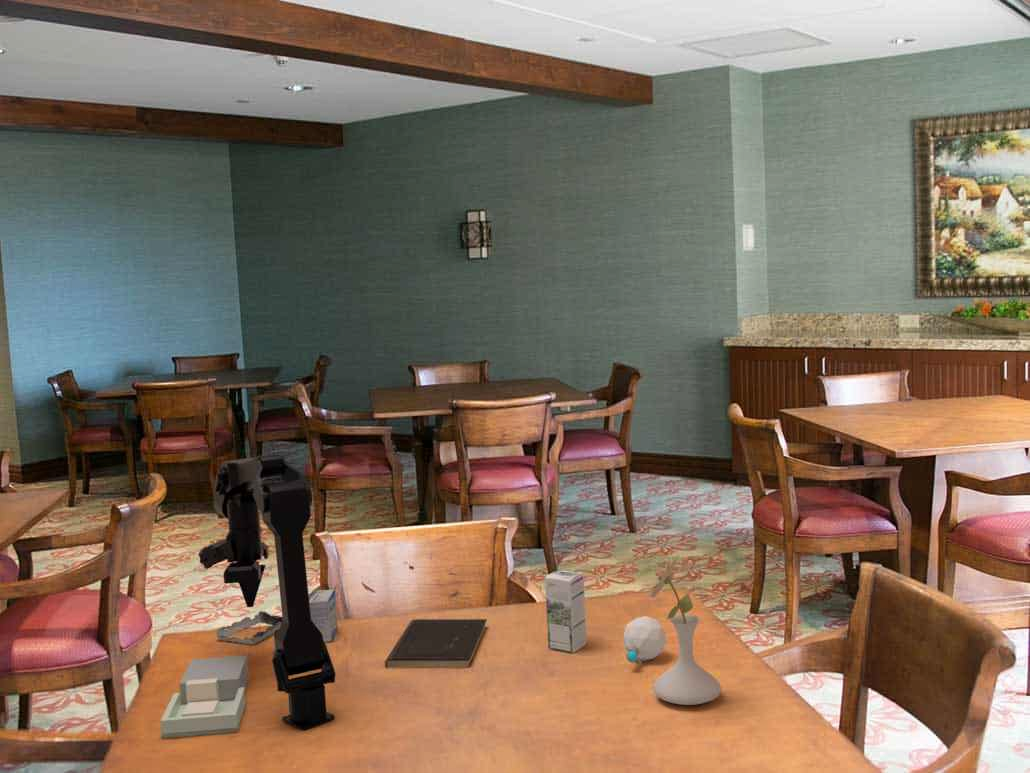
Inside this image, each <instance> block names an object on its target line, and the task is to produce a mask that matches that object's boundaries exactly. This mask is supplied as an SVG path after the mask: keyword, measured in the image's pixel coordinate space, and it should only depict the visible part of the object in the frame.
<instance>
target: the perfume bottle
mask: <svg viewBox="0 0 1030 773" xmlns="http://www.w3.org/2000/svg"><path fill="white" fill-rule="evenodd" d="M622 640H623V647H624V649H625V650H626V652H627V653H626V655H625V656H626V660H628V662H630V663H635V662H637V663H640V664H642V662H645V661H649V660H653V659H655V658H656V657H658V656H659V655H661V654H662V653H663V652H664V650H665V646H666V641H667V638H666V629H665V628H664V626H662V624H661V622H659V620H658V619H655V618H653V617H650V616H647V615H645V616H639V617H636V618H634V619H633V620H631V621H630V622H628V623H627V624H626V625H625V628H624V632H623V636H622Z"/></svg>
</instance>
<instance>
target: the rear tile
mask: <svg viewBox="0 0 1030 773" xmlns="http://www.w3.org/2000/svg"><path fill="white" fill-rule="evenodd" d="M186 695H187V704H188V703H189V702H203V701H216V700H218V701H219V689H218V678H213V679H201V680H189V681H187V683H186ZM219 707H220V702H219Z"/></svg>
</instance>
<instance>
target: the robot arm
mask: <svg viewBox="0 0 1030 773" xmlns="http://www.w3.org/2000/svg"><path fill="white" fill-rule="evenodd" d="M271 478H272V479H273V478H281V480H283V481H281V482H275V483H268V484H264V485H263V483H264V480H267V479H271ZM262 485H263V487H262ZM212 488H213V490H214V493H215V496H214V499H213V501H212V502H213V507H214V510H215V511H216V512H217V513H218V514H219V515H220V516H223V517H224V518H225V519H227V520H228V521H227V523H228V533H227V535H226V536H225V538H224V539H220V540H218V541H216V542H213V543H212V544H209V545H207V546H204V547H203V548H201V549H200V551H199V552H198V554H197V555H198V557H199V563H201V564H202V566H203V567H204V569H205V570H208V569H211V568H212V567H213V566H216V564H219V563H222V562H223V561H227V563H228V565H227V567H226V568H225V569H224V571H223V583H224V584H238V585H239V587H240V591H241V594H242V596H243V599H244V601H245V602H244V603H245V605H246V607H247V608H253V607H254V605H255V602H256V598H257V595H258V592H259V589H260V586H261V582H262V579H263V576H264V574H265V569H266V566H267V565H266V564H260V560H262V557H263V558H264V560H268V558H269V557H270V556H269V555H270V552H269V551H270V550H269V546H268V544H266V542H264V541H262V535H261V534H262V533H263V527H262V526H261V523H260V522H261V521H260V513H261V518H262V521H263V523H264V524H265V525H266V527H267V528H268V529H269V531H270V532H271V533H272V535H273V537H274V546H275V547H274V548H275V557H276V567H277V576H278V577H277V578H278V585H279V586H278V588H279V597H280V606H281V607H280V608H281V617H282V618H283V622H282V624H281V626H280V628H279V629H278V630H275V633H274V634H273V640H274V648H275V649H274V650H273V652H272V659H271V664H272V668H273V672H274V676H275V681H276V682H275V683H276V687H277V689H276V690H277V692H283V693H285V694H286V695H287V694H288V708H289V714H287V715H283V716H282V717H281V719H282V720H281V721H283V722H285V723H286V724H289V725H291V726H292V727H295V728H297V729H298V730H301V731H303V730H307V729H311V728H313V727H316V726H319V725H321V724H323V723H327V722H330V721H332V720H334V719H336V717H335V714H334V713H331V712H329V711H327V700H326V686H325V685H326V684H328V685H329V684H333V683H334V684H335V682H336V670H335V667H334V665H333V662H332V659H331V656H330V653H329V650H328V647H327V644H326V642H324V641H323V635H322V633H321V632H320V630H319V629H318V628H317V627H316V625H315V624H314V623H313V622H312V620H311V614H310V604H309V599H310V596H309V594H310V593H309V584H308V574H307V565H306V564H307V563H306V557H305V546H304V545H305V544H304V535H303V534H304V531H305V529H306V527H307V525H308V523H309V520H311V515H312V514H311V505H312V503H313V494H312V490H311V487H310V486H309V483H308V481H307V480H306V477H305V475H304V473H303V472H302V471H300V470H298V469H297V468H296V467H294V466H293V465H291V464H289V463H288V461H287V459H286V458H285V455H284V454H281V453H280V454H279V453H272V454H271V453H270V454H265V455H258V456H256V457H249V458H241V459H232V460H231V459H230V460H224V461H222V462H221V464H220V467H219V468H218V469H217V474H216V476H215V480H214V482H213V487H212ZM318 670H320V671H319V672H314V671H318ZM309 672H314V673H310V674H306V675H302V676H297V677H293V678H289V677H291V676H294V675H295V676H296V675H299V674H304V673H309Z"/></svg>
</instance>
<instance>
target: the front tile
mask: <svg viewBox="0 0 1030 773" xmlns="http://www.w3.org/2000/svg"><path fill="white" fill-rule="evenodd" d="M218 713H219V701H218V700H216V701H203V702H189V703H188V704H187V706H186V708H185V710H184V712H183V714H182V717H185V716H196V715H208V714H218Z"/></svg>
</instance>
